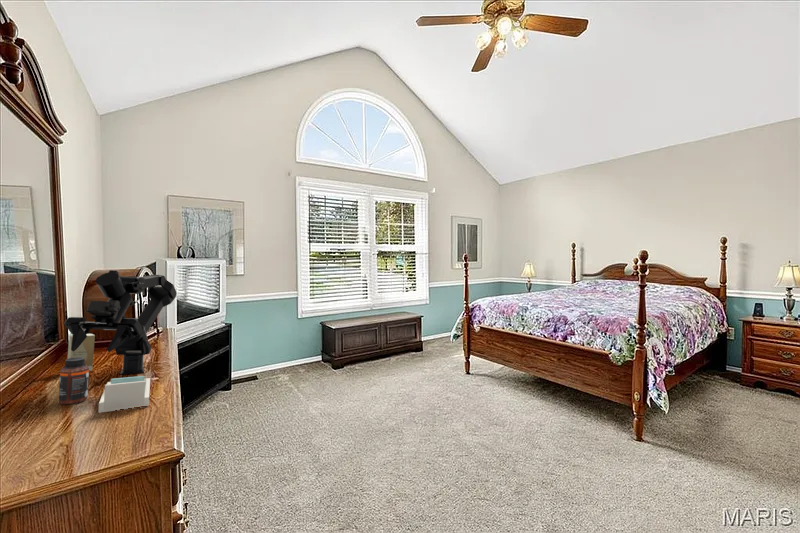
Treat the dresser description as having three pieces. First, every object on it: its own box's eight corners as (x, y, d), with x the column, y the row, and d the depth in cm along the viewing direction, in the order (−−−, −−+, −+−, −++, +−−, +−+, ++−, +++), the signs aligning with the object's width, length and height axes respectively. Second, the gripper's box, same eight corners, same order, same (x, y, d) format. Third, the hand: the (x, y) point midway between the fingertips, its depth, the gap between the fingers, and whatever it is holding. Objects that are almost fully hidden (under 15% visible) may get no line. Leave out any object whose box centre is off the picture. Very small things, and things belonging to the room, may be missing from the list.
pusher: (110, 395, 104) (111, 378, 105) (143, 391, 109) (144, 375, 109) (109, 398, 102) (110, 381, 102) (143, 394, 106) (144, 378, 106)
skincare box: (69, 374, 125) (71, 336, 125) (65, 371, 128) (67, 335, 128) (93, 370, 130) (95, 334, 130) (89, 368, 133) (91, 333, 133)
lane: (107, 390, 111) (108, 367, 111) (149, 385, 116) (151, 364, 117) (98, 412, 94) (99, 386, 95) (148, 406, 100) (149, 381, 100)
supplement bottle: (93, 398, 104) (95, 356, 104) (72, 406, 98) (75, 362, 98) (73, 396, 105) (75, 355, 105) (51, 404, 99) (54, 360, 99)
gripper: (70, 289, 112) (38, 333, 101) (139, 291, 114) (115, 334, 103) (86, 313, 119) (58, 356, 108) (151, 314, 122) (130, 357, 111)
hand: (90, 350), depth 108 cm, fingers open, 9 cm apart
